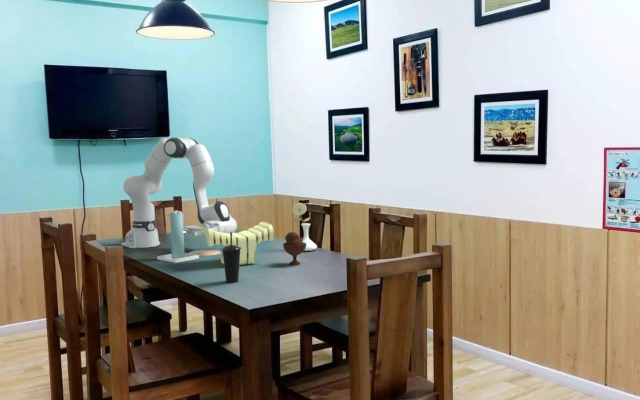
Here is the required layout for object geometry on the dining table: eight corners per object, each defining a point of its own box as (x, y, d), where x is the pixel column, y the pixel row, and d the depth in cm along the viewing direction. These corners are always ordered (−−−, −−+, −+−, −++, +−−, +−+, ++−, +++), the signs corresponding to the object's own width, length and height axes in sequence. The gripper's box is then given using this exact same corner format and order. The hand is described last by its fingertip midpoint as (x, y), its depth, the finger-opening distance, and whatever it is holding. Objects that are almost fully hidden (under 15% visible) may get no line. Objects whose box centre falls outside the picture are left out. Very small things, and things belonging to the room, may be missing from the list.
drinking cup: (223, 279, 235) (222, 231, 233) (242, 279, 236) (241, 230, 234) (221, 284, 228) (220, 233, 226) (241, 283, 228) (240, 233, 226)
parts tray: (157, 260, 277) (157, 256, 277) (181, 256, 288) (181, 252, 288) (175, 264, 268) (175, 259, 268) (199, 259, 279) (199, 255, 279)
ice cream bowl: (304, 266, 259) (303, 233, 257) (279, 266, 261) (279, 233, 260) (309, 262, 269) (308, 230, 268) (286, 261, 271) (285, 229, 270)
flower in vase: (318, 248, 306) (317, 201, 304) (315, 252, 295) (315, 203, 292) (293, 248, 307) (293, 201, 305) (290, 252, 296) (289, 203, 294)
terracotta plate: (182, 254, 292) (182, 252, 292) (207, 250, 304) (207, 248, 304) (202, 258, 282) (202, 256, 282) (227, 253, 294) (227, 251, 294)
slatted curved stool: (210, 269, 255) (209, 229, 254) (201, 263, 270) (200, 225, 268) (274, 263, 268) (273, 225, 266) (262, 257, 282) (262, 221, 281)
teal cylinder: (169, 258, 278) (167, 210, 275) (179, 257, 282) (177, 209, 280) (176, 260, 274) (175, 211, 272) (187, 258, 278) (185, 210, 276)
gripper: (196, 221, 298) (174, 224, 288) (222, 224, 286) (200, 228, 275) (196, 233, 299) (174, 237, 288) (223, 237, 286) (201, 241, 276)
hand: (187, 232), depth 282 cm, fingers open, 8 cm apart
